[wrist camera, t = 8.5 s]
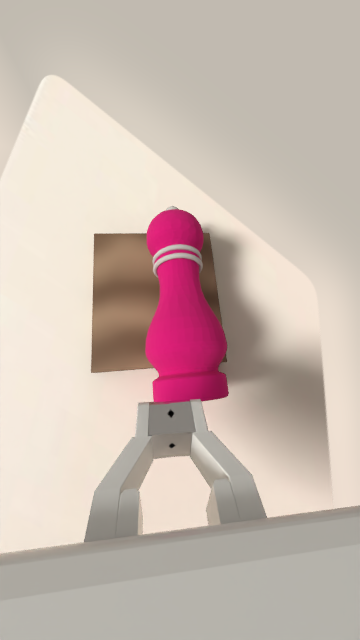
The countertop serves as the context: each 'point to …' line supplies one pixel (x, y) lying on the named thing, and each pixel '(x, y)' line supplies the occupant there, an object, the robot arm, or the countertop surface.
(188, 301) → the pepper mill
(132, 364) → the walnut board
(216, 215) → the countertop surface
